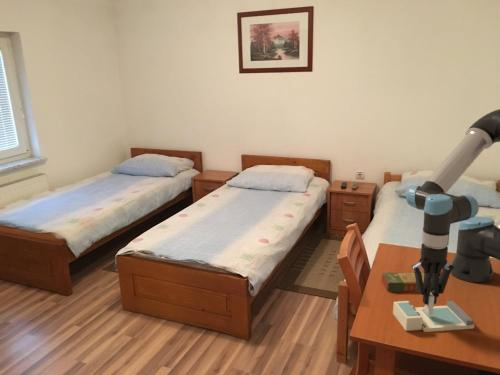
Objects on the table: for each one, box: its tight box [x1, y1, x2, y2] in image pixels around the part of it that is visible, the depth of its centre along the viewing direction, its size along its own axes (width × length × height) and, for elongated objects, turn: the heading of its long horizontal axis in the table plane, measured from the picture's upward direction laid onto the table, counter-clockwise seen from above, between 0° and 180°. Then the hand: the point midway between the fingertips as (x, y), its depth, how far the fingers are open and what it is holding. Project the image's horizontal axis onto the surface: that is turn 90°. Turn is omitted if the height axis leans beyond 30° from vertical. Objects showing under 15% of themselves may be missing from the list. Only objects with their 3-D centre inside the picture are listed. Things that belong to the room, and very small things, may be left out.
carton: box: [381, 271, 431, 293], centre depth 161 cm, size 8×16×4 cm, turn 89°
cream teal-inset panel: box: [414, 300, 475, 333], centre depth 139 cm, size 16×12×3 cm
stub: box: [392, 300, 422, 332], centre depth 138 cm, size 5×10×4 cm, turn 5°
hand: (428, 312), depth 138 cm, fingers closed
